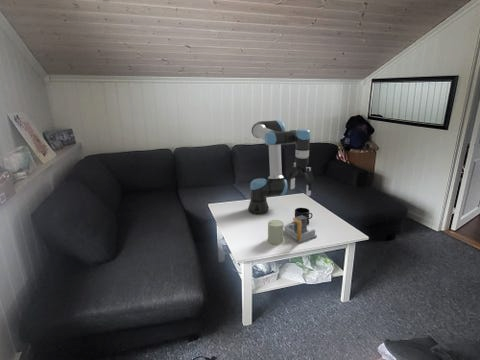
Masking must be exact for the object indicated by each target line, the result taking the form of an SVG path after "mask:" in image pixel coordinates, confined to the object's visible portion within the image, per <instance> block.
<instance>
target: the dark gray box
mask: <svg viewBox="0 0 480 360" xmlns="http://www.w3.org/2000/svg"><path fill="white" fill-rule="evenodd" d="M294 218H296V219H298V220H300V221H302V229H301V234H302V233H305V232H307V230H308V225H307V217H305V216H303V215H301V216H298V217H295V216H294ZM293 222H294V231H295V232H296V233H297V229H298V223H297V222H295V221H293Z"/></svg>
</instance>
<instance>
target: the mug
mask: <svg viewBox="0 0 480 360" xmlns="http://www.w3.org/2000/svg"><path fill="white" fill-rule="evenodd" d="M301 215H303V216H305V217H307V226H308V225H309V223H310V219H312V218H313V213H312V212H310V209H308V208H305V207H297V208H295V209H294V218H295V217H298V216H301Z"/></svg>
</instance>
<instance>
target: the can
mask: <svg viewBox="0 0 480 360" xmlns="http://www.w3.org/2000/svg"><path fill="white" fill-rule="evenodd" d="M284 224H285V223H284V222H283V221H282V220H279V219H272V220H269V221H268V222H267V242H268V243H269V244H270V245H274V246H276V245H277V246H278V245H280V244H283V243H284V234H283V230H284V228H285V225H284Z"/></svg>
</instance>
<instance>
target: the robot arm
mask: <svg viewBox="0 0 480 360" xmlns="http://www.w3.org/2000/svg"><path fill="white" fill-rule="evenodd" d="M250 132H251V134H252V136H253V137H255V138H256V139H261V140H264V143H265V145H266V146H268V158H269V159H268V160H269V176H268V177H267V179H266V178H263V177H262V178H255V179H253V180H252V181H251V182H250V187H249V188H250V194H249V195H250V200H249V205H248V206H247V207H248V208H247V210H248V213H249V214H253V215H264V214H268V213H269V211H270V207H269V205H268V200H267V198H268V197H280V196H283V195H286V193H287V191H288V181H287V179H285V177H284V175H283V172H282V168H283V167H282V146H281V145H295V158H294V162H292V163H291V168H290V169H289V172H288V174H287V176H288V177H289V179H290V180H289V181H290V190H294V189H296V188H295V187H296V176H297V175H298V174H299V173H300V174H302V175H303V178H304V179H305V181H306V183H307V184H306V193H305V196H306V197H309V196H311V195H312V194H311V193H312V187H313V186H314V185H316V183H315V182H316V181H315V179H314V175H313V171H312V167H309V166H308V164H309V159H310V158H309V157H310V142H311V131H310V129H305V128H301V129H300V128H299V129H297V130H296V129H290V130H286V127H285V124H284V122H283V121H282V120H264V121H258V122H255V123H254V124H253V125H252V127H251V131H250Z"/></svg>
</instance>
